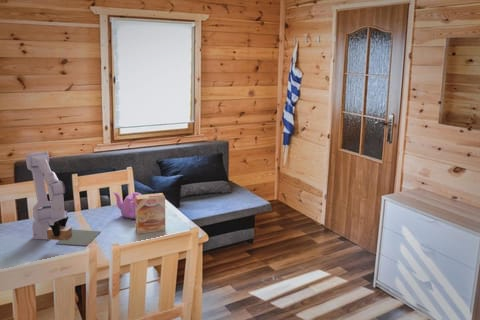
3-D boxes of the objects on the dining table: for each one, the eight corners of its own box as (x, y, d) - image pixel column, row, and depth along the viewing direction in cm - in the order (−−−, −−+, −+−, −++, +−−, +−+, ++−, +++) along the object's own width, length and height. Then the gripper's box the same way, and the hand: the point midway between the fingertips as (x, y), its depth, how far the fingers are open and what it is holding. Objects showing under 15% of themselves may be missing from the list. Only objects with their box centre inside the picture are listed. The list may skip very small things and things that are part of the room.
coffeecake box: (137, 234, 248) (136, 199, 243) (135, 229, 254) (134, 195, 249) (165, 230, 253) (165, 196, 249) (162, 226, 260) (162, 192, 255)
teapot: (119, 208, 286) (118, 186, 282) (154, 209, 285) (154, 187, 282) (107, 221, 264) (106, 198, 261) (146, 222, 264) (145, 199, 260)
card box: (47, 239, 225) (46, 229, 224) (52, 235, 230) (51, 225, 228) (67, 240, 224) (66, 230, 223) (72, 236, 229) (71, 226, 227)
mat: (55, 244, 233) (55, 243, 233) (72, 230, 251) (71, 229, 251) (86, 246, 232) (86, 245, 232) (100, 232, 249) (100, 231, 249)
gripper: (58, 213, 215) (60, 240, 219) (72, 202, 230) (74, 228, 233) (43, 212, 216) (46, 239, 219) (58, 201, 230) (60, 227, 233)
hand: (59, 233), depth 226 cm, fingers closed on card box, 5 cm apart
